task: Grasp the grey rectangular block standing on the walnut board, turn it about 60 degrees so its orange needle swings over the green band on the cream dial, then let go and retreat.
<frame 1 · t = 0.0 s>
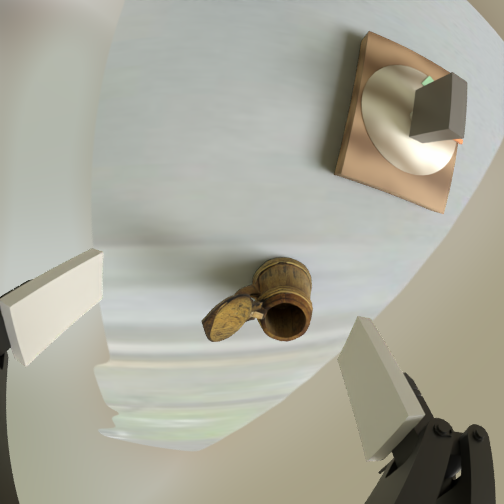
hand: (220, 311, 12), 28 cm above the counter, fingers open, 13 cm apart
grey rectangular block: (456, 124, 24), point 10 cm above the counter, hinge at 0.0°
wooden mug: (269, 278, 42), on the counter
board: (402, 121, 33), on the counter
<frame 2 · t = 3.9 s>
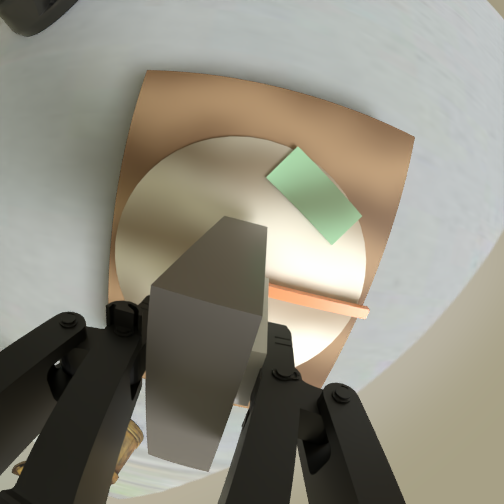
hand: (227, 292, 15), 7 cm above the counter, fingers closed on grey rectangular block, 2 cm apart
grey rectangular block: (301, 341, 12), point 10 cm above the counter, hinge at 0.0°, touching gripper
wooden mug: (103, 416, 30), on the counter
board: (240, 256, 21), on the counter
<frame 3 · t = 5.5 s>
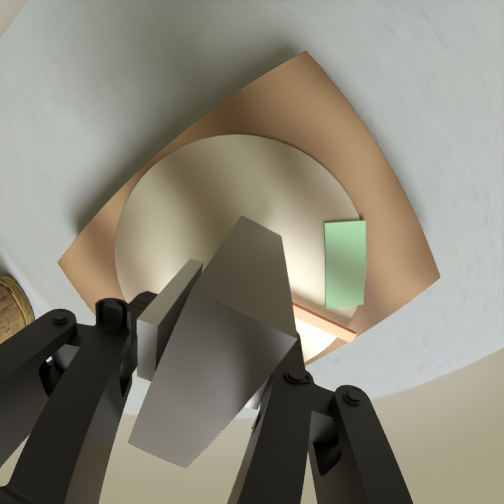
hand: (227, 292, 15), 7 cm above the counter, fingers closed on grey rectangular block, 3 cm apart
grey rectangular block: (294, 354, 12), point 10 cm above the counter, hinge at 26.9°, touching gripper
wooden mug: (9, 290, 25), on the counter
board: (240, 255, 21), on the counter
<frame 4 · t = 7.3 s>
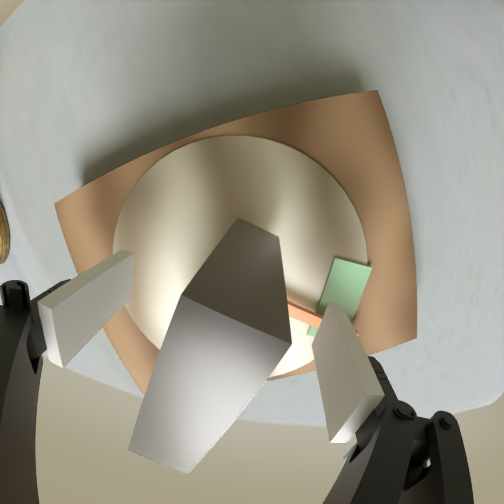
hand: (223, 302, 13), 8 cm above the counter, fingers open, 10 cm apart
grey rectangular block: (295, 357, 12), point 10 cm above the counter, hinge at 47.9°
board: (239, 257, 21), on the counter
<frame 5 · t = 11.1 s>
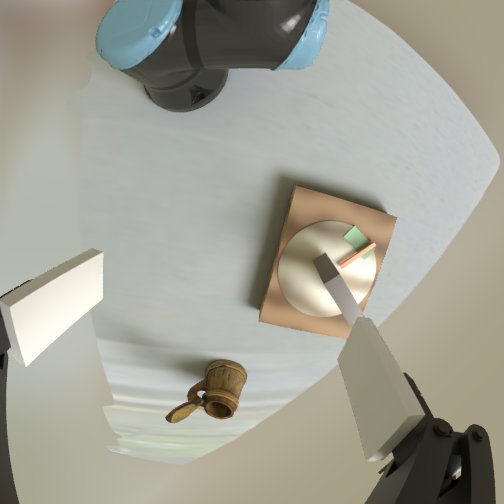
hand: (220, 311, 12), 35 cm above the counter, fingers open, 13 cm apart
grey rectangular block: (358, 270, 37), point 10 cm above the counter, hinge at 49.0°
wooden mug: (217, 370, 56), on the counter
board: (324, 264, 48), on the counter
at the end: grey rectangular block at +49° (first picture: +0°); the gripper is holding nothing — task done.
